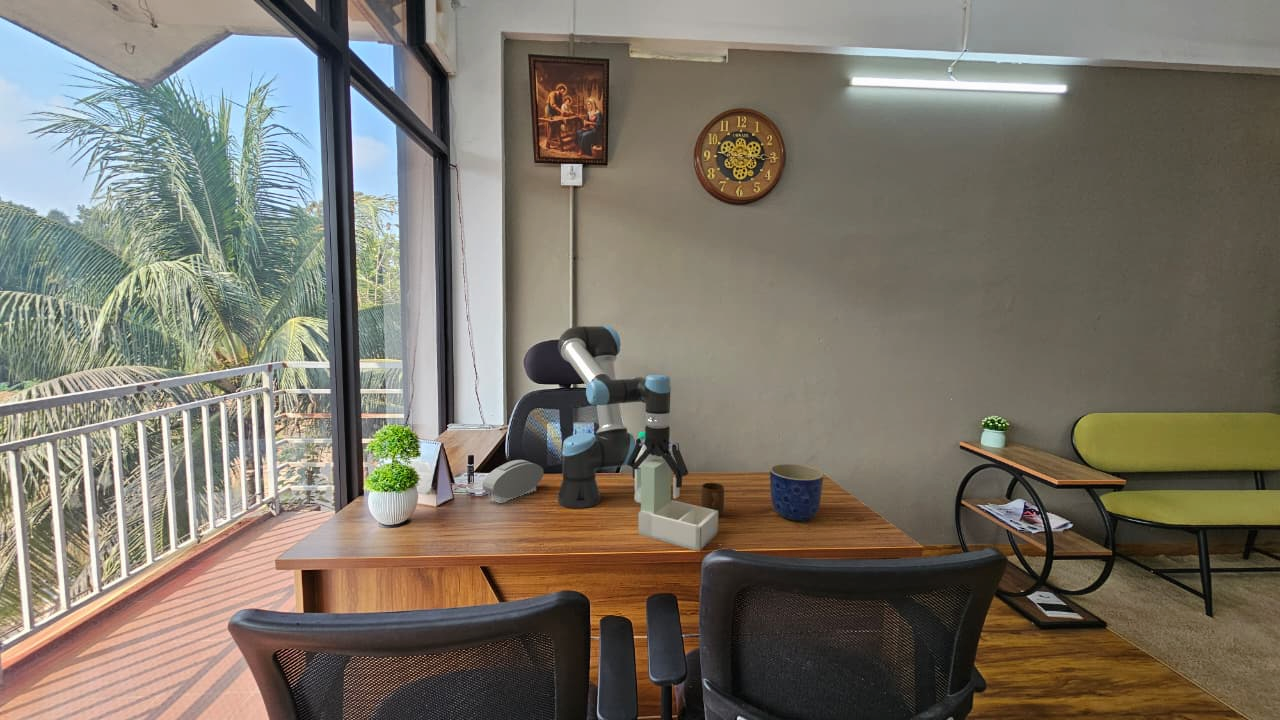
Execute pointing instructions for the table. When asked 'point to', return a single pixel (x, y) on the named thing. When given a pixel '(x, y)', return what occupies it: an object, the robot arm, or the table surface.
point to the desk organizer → (680, 525)
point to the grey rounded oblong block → (512, 480)
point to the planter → (795, 490)
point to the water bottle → (649, 458)
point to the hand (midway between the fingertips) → (656, 492)
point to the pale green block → (655, 485)
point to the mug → (713, 497)
